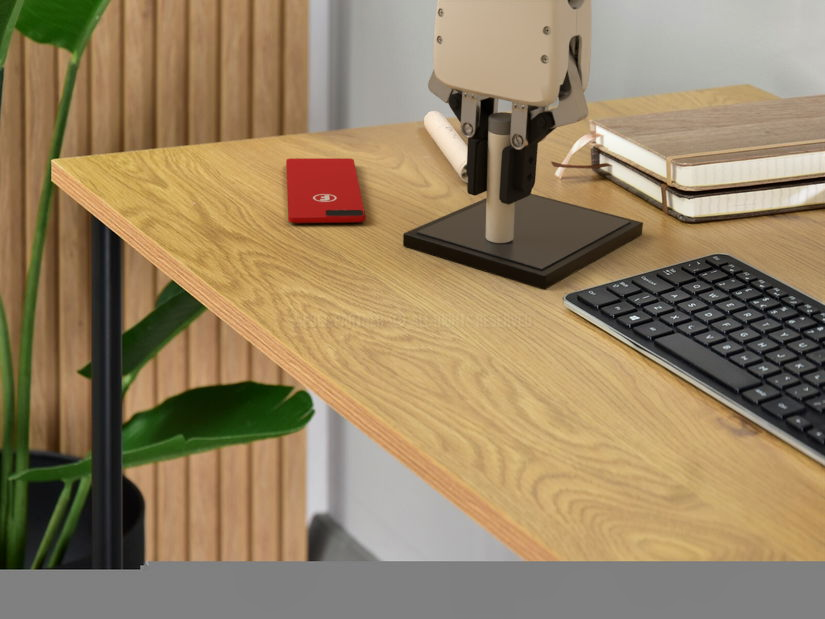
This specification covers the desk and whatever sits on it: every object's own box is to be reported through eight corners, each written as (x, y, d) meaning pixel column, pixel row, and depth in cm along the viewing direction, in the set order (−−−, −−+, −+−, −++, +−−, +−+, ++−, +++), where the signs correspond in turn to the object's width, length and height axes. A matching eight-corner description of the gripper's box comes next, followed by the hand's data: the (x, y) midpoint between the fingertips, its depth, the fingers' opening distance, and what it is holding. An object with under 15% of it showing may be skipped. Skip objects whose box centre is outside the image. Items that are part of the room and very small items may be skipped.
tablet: (508, 199, 97) (509, 186, 97) (642, 234, 91) (643, 221, 90) (402, 246, 87) (403, 231, 87) (544, 289, 80) (545, 274, 80)
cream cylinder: (419, 126, 116) (419, 102, 115) (440, 126, 117) (441, 102, 116) (459, 185, 100) (461, 158, 99) (484, 184, 100) (485, 157, 100)
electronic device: (286, 163, 104) (288, 223, 90) (286, 157, 103) (288, 216, 90) (353, 163, 104) (365, 223, 91) (353, 157, 104) (365, 216, 90)
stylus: (495, 230, 87) (499, 110, 83) (518, 236, 86) (523, 115, 82) (480, 239, 86) (482, 117, 82) (503, 245, 85) (507, 122, 81)
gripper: (656, -72, 75) (625, 207, 83) (450, -95, 84) (439, 160, 91) (596, -62, 70) (569, 236, 77) (382, -88, 78) (377, 183, 86)
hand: (499, 192), depth 84 cm, fingers closed on stylus, 2 cm apart
